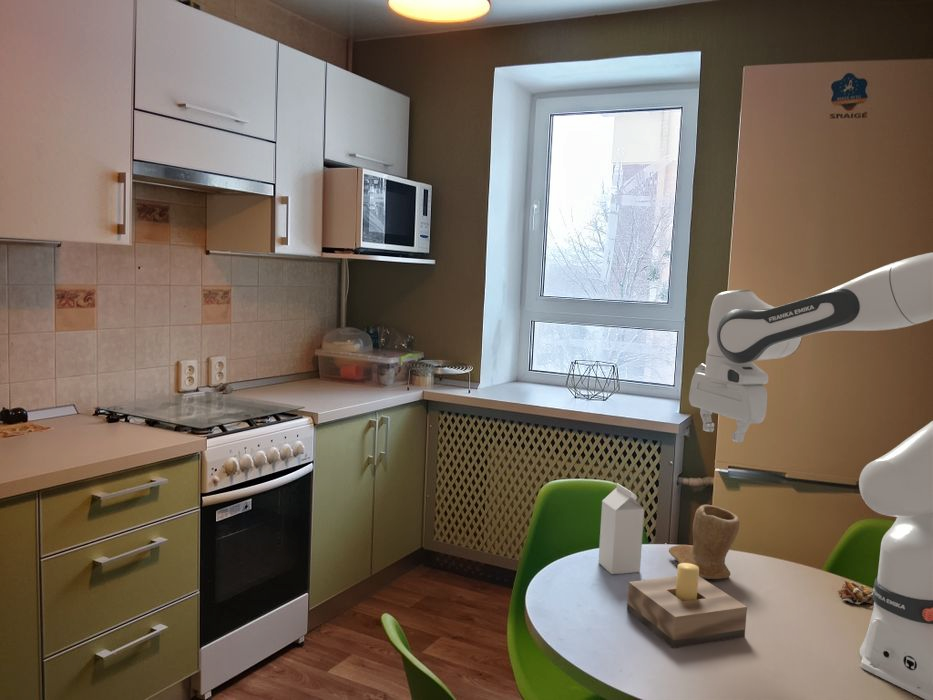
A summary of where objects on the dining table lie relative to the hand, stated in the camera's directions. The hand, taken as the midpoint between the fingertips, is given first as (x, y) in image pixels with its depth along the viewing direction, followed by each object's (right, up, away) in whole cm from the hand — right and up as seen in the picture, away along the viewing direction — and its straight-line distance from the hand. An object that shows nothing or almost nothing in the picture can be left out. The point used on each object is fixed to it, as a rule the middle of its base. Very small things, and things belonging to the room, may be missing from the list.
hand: (722, 436), depth 163 cm
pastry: (+32, -36, +9) cm, 49 cm away
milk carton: (-18, -33, +19) cm, 42 cm away
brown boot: (+2, -33, +20) cm, 39 cm away
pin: (-10, -34, -8) cm, 37 cm away
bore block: (-10, -36, -7) cm, 38 cm away
